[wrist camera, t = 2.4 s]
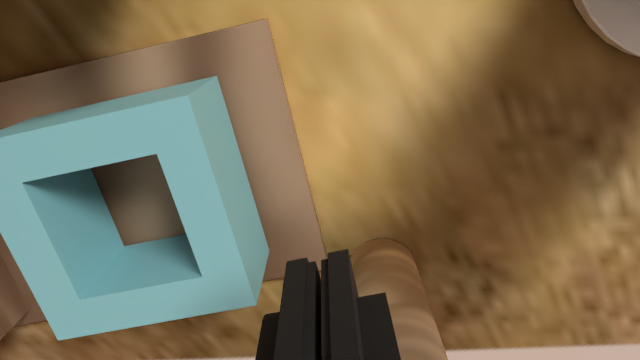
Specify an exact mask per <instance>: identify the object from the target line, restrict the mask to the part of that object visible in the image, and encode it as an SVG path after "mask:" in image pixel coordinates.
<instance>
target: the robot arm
mask: <svg viewBox="0 0 640 360" xmlns="http://www.w3.org/2000/svg"><path fill="white" fill-rule="evenodd" d="M573 2H574V5H575V7H576V8H577V10H578V11H579V13H580V14H581V16H582V17H583V19H584V20H585V22H586V23H587V25H588V26H589V27H590V28H591V29H592V30H593V31H594V32H595V33H596V34H597V35H599V36H600V37H601V38H602V39H603V40H604V41H605V42H607V43H608V44H610V45H612V46H614V47H616V48H617V49H619V50H621V51H623V52H625V53H627V54H630V55H634V56H637V57H640V0H573ZM256 360H401V357H400V353H399V349H398V344H397V340H396V335H395V331H394V327H393V322H392V318H391V314H390V309H389V305H388V301H387V296H386V292H383V293H378V294H373V295H367V296H362V297H359V295H358V291H357V286H356V282H355V277H354V273H353V269H352V264H351V260H350V256H349V252H348V249H347V250H342V251H336V252H331V253H328V259H323V260H321V279H320V275H319V271H318V267H317V264H316V262H315V261H313V262H309V261H308V259H307V257H306V258H301V259H296V260H291V261H287V262H286V268H285V276H284V284H283V291H282V299H281V306H280V312H277V313H271V314H266V315H265V316H264V317H263V321H262V327H261V332H260V338H259V343H258V349H257V354H256Z"/></svg>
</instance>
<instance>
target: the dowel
mask: <svg viewBox="0 0 640 360" xmlns="http://www.w3.org/2000/svg"><path fill="white" fill-rule="evenodd" d="M350 260H351V264H352V269H353V273H354V277H355V282H356V286H357V291H358V295H359V297H362V296H367V295H373V294H378V293H383V292H386V296H387V301H388V305H389V309H390V314H391V318H392V322H393V327H394V331H395V335H396V340H397V344H398V349H399V353H400V357H401V360H448V359H447V356H446V353H445V350H444V347H443V344H442V341H441V338H440V335H439V332H438V329H437V326H436V323H435V320H434V317H433V314H432V311H431V308H430V305H429V302H428V299H427V296H426V293H425V290H424V287H423V284H422V281H421V278H420V274H419V271H418V268H417V265H416V262H415V259H414V257H413V255H412V253H411V252H410V250H409V249H408V248H407V247H406V246H404V245H403V244H401V243H400V242H397V241H395V240H391V239H375V240H371V241H368V242H366V243H364V244H362V245H361V246H360V247H358V248H357V249H356V250H355V251H354V253H353V254H352V256H351V258H350Z"/></svg>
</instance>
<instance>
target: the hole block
mask: <svg viewBox="0 0 640 360" xmlns="http://www.w3.org/2000/svg"><path fill="white" fill-rule="evenodd" d="M153 154H157V156H158V159H159V161H160V164H161V167H162V169H163V172H164V175H165V178H166V180H167V183H168V186H169V188H170V191H171V194H172V197H173V199H174V202H175V205H176V207H177V210H178V213H179V215H180V218H181V221H182V224H183V226H184V229H185V232H186V234H184V235H179V236H174V237H169V238H163V239H158V240H153V241H148V242H143V243H138V244H133V245H128V246H124V244H123V242H122V240H121V237H120V235H119V233H118V230H117V228H116V226H115V223H114V221H113V219H112V217H111V214H110V212H109V210H108V207H107V205H106V203H105V200H104V198H103V196H102V193H101V191H100V189H99V186H98V184H97V182H96V179H95V177H94V175H93V172H92V170H91V168H93V167H98V166H102V165H107V164H112V163H116V162H121V161H126V160H130V159H135V158H140V157H144V156H149V155H153ZM0 233H1V235H2V237H3V239H4V240H5V242H6V244H7V246H8V248H9V250H10V252H11V254H12V255H13V257H14V259H15V261H16V263H17V265H18V267H19V269H20V270H21V272H22V274H23V276H24V278H25V280H26V282H27V283H28V285H29V287H30V289H31V291H32V293H33V295H34V297H35V298H36V300H37V302H38V304H39V306H40V308H41V310H42V312H43V313H44V315H45V317H46V319H47V321H48V323H49V325H50V327H51V328H52V330H53V332H54V334H55V336H56V338H57V340H58V341H59V340H65V339H70V338H76V337H81V336H87V335H93V334H98V333H104V332H110V331H115V330H121V329H126V328H132V327H138V326H143V325H149V324H155V323H160V322H166V321H171V320H177V319H183V318H188V317H194V316H200V315H205V314H211V313H216V312H222V311H228V310H233V309H239V308H245V307H250V306H256V305H257V301H258V297H259V293H260V289H261V284H262V280H263V276H264V272H265V267H266V263H267V259H268V255H269V248H268V244H267V241H266V238H265V234H264V231H263V228H262V224H261V221H260V218H259V214H258V211H257V208H256V204H255V201H254V198H253V194H252V191H251V188H250V184H249V181H248V178H247V174H246V171H245V168H244V164H243V161H242V158H241V154H240V151H239V148H238V144H237V141H236V138H235V134H234V131H233V128H232V124H231V121H230V118H229V114H228V111H227V108H226V104H225V101H224V98H223V94H222V91H221V88H220V84H219V81H218V78H217V76H213V77H209V78H205V79H200V80H196V81H192V82H187V83H183V84H178V85H174V86H170V87H165V88H161V89H157V90H152V91H148V92H143V93H139V94H135V95H130V96H126V97H122V98H117V99H113V100H109V101H104V102H100V103H95V104H91V105H87V106H82V107H78V108H74V109H69V110H65V111H61V112H56V113H52V114H47V115H43V116H39V117H34V118H30V119H27V120H25V121H22V122H20V123H17V124H15V125H12V126H9V127H7V128H4V129H2V130H0Z"/></svg>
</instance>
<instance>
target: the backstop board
mask: <svg viewBox="0 0 640 360" xmlns="http://www.w3.org/2000/svg"><path fill="white" fill-rule="evenodd" d="M213 76H217V78H218V81H219V84H220V88H221V91H222V94H223V98H224V101H225V104H226V108H227V111H228V114H229V118H230V121H231V124H232V128H233V131H234V134H235V138H236V141H237V144H238V148H239V151H240V154H241V158H242V161H243V164H244V168H245V171H246V174H247V178H248V181H249V184H250V188H251V191H252V194H253V198H254V201H255V204H256V208H257V211H258V214H259V218H260V221H261V224H262V228H263V231H264V234H265V238H266V241H267V244H268V248H269V255H268V259H267V263H266V267H265V272H264V276H263V280H262V281H266V280H271V279H276V278H282V277H284V276H285V268H286V262H287V261H291V260H296V259H301V258H306V257H307V259H308V261H309V262H313V261H315V262H316V264H317V267H318V271H320V270H321V260H323V259H327V255H326V251H325V247H324V243H323V239H322V235H321V231H320V227H319V223H318V219H317V215H316V211H315V207H314V203H313V199H312V195H311V191H310V187H309V183H308V179H307V175H306V171H305V167H304V163H303V159H302V155H301V151H300V147H299V143H298V139H297V135H296V131H295V127H294V123H293V119H292V115H291V111H290V107H289V103H288V99H287V95H286V91H285V87H284V83H283V79H282V75H281V71H280V67H279V63H278V59H277V55H276V51H275V47H274V43H273V39H272V35H271V30H270V26H269V22H268V19H264V20H260V21H256V22H252V23H247V24H243V25H239V26H235V27H231V28H226V29H222V30H218V31H214V32H210V33H205V34H201V35H197V36H193V37H189V38H184V39H180V40H176V41H172V42H168V43H164V44H159V45H155V46H151V47H147V48H143V49H138V50H134V51H130V52H126V53H122V54H117V55H113V56H109V57H105V58H101V59H97V60H92V61H88V62H84V63H80V64H76V65H71V66H67V67H63V68H59V69H55V70H50V71H46V72H42V73H38V74H34V75H30V76H25V77H21V78H17V79H13V80H9V81H4V82H0V130H2V129H4V128H7V127H9V126H12V125H15V124H17V123H20V122H22V121H25V120H27V119H30V118H34V117H39V116H43V115H47V114H52V113H56V112H61V111H65V110H69V109H74V108H78V107H82V106H87V105H91V104H95V103H100V102H104V101H109V100H113V99H117V98H122V97H126V96H130V95H135V94H139V93H143V92H148V91H152V90H157V89H161V88H165V87H170V86H174V85H178V84H183V83H187V82H192V81H196V80H200V79H205V78H209V77H213ZM91 170H92V172H93V175H94V177H95V179H96V182H97V184H98V186H99V189H100V191H101V193H102V196H103V198H104V200H105V203H106V205H107V207H108V210H109V212H110V214H111V217H112V219H113V221H114V223H115V226H116V228H117V230H118V233H119V235H120V237H121V240H122V242H123V244H124V246H128V245H133V244H138V243H143V242H148V241H153V240H158V239H163V238H169V237H174V236H179V235H184V234H186V232H185V229H184V226H183V224H182V221H181V218H180V215H179V213H178V210H177V207H176V205H175V202H174V199H173V197H172V194H171V191H170V188H169V186H168V183H167V180H166V178H165V175H164V172H163V169H162V167H161V164H160V161H159V159H158V156H157V154H153V155H149V156H144V157H140V158H135V159H130V160H126V161H121V162H116V163H112V164H107V165H102V166H98V167H93V168H91ZM41 321H47V319H46V317H45V315H44V313H43V312H42V310H41V308H40V306H39V304H38V302H37V300H36V298H35V297H34V295H33V293H32V291H31V289H30V287H29V285H28V283H27V282H26V280H25V278H24V276H23V274H22V272H21V270H20V269H19V267H18V265H17V263H16V261H15V259H14V257H13V255H12V254H11V252H10V250H9V248H8V246H7V244H6V242H5V240H4V239H3V237H2V235H1V233H0V340H1V339H2V338H3V337H4V336H5V335H6V334H7V333H8V332H9V331H10V329H11V328H12V327H14V326H19V325H25V324H30V323H36V322H41Z"/></svg>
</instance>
